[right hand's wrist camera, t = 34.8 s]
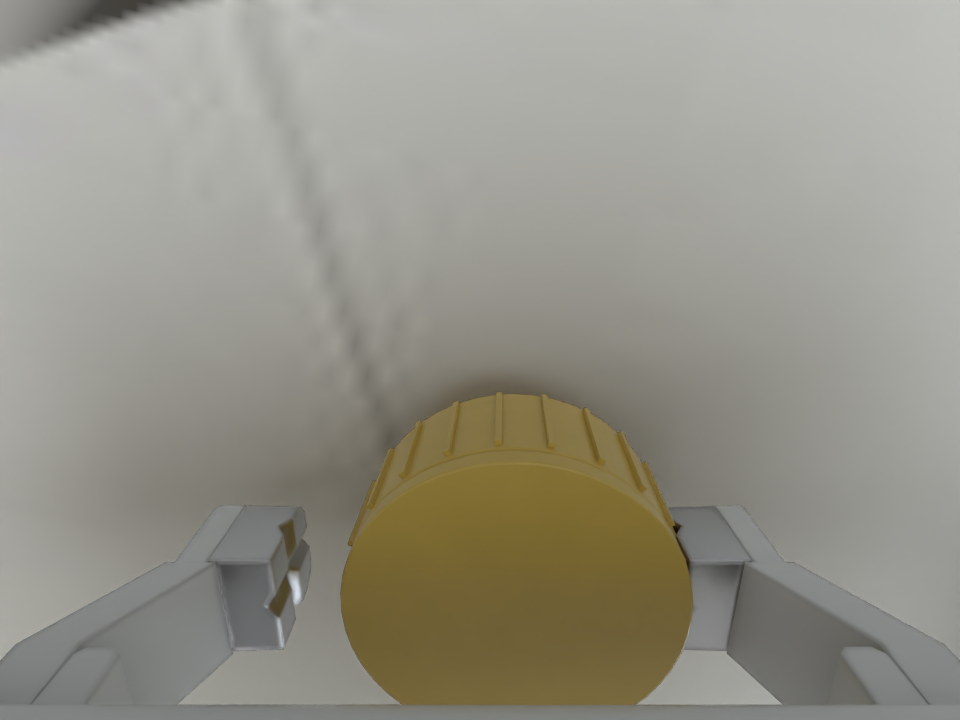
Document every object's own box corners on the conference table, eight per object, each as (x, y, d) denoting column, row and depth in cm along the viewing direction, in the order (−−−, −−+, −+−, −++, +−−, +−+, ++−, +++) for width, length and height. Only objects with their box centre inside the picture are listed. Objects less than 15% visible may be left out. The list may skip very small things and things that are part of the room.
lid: (541, 327, 10) (552, 381, 7) (713, 545, 11) (767, 647, 9) (311, 496, 11) (260, 585, 9) (489, 671, 12) (486, 787, 10)
